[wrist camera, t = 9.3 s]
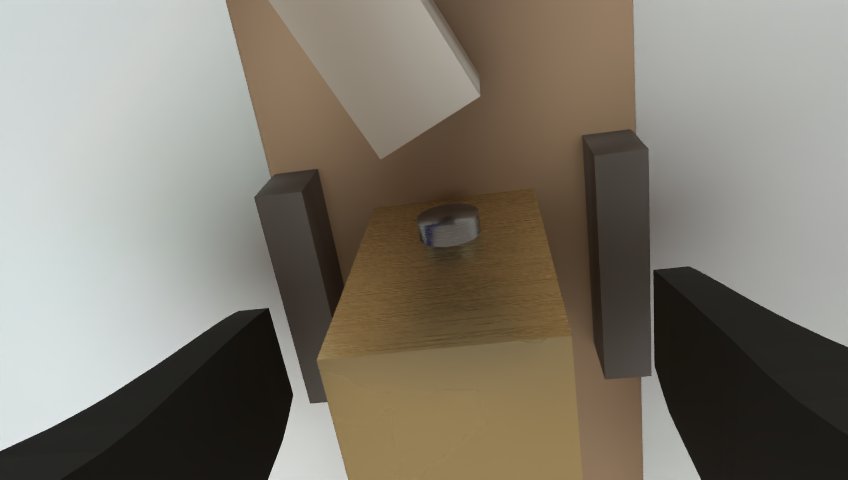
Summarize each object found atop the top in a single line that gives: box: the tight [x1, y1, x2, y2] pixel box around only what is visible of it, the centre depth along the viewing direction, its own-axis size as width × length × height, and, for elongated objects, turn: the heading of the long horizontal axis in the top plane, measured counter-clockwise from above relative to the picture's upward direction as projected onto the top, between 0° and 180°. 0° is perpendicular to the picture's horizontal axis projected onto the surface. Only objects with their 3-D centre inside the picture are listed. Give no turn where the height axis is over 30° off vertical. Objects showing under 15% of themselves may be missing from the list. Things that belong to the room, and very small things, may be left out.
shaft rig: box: [226, 0, 651, 480], centre depth 14 cm, size 8×18×4 cm, turn 8°
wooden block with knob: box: [317, 188, 583, 480], centre depth 12 cm, size 4×4×6 cm
